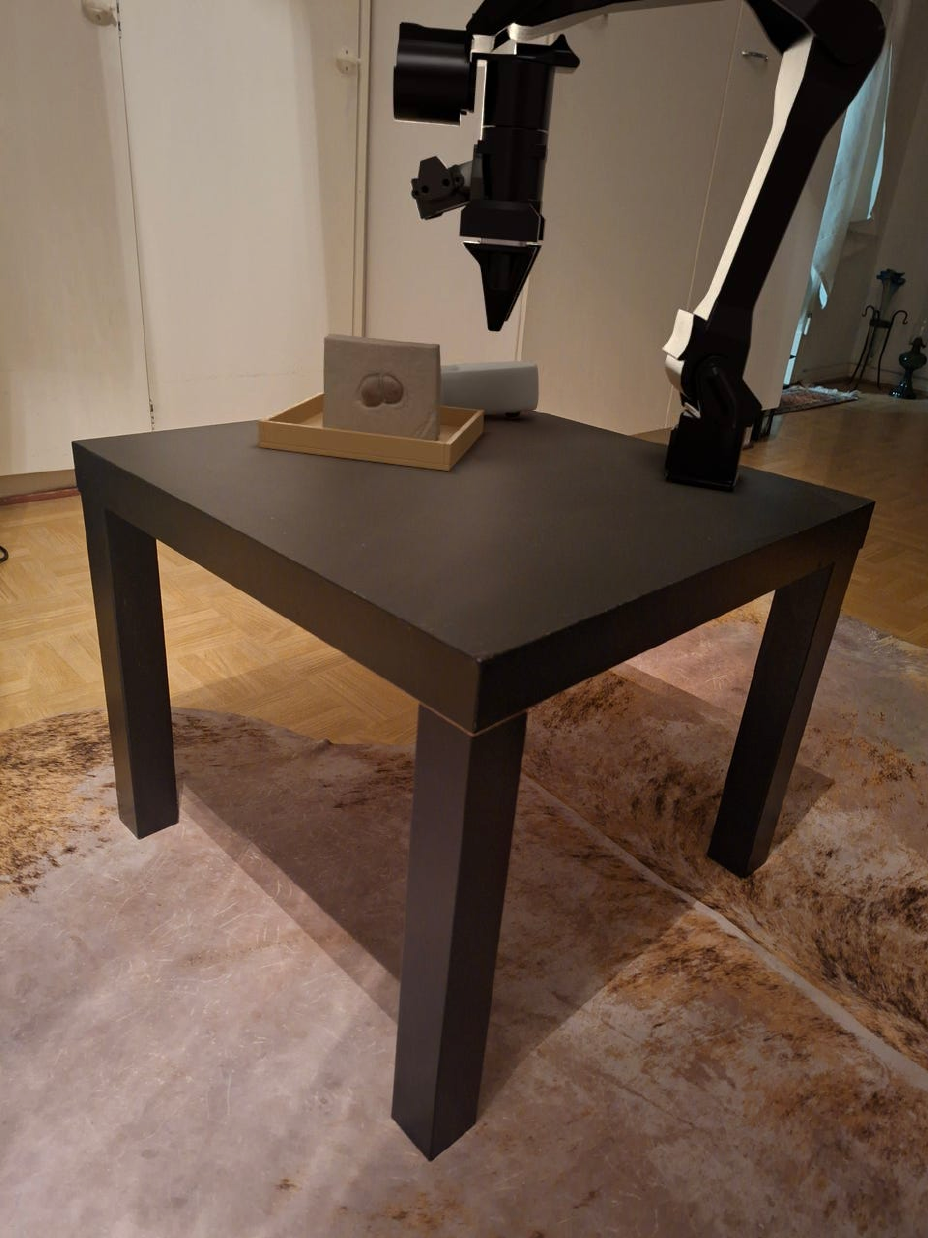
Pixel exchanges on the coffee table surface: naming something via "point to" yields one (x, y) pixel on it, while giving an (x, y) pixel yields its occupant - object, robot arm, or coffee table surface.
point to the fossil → (382, 386)
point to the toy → (491, 386)
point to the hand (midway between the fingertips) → (498, 325)
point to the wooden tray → (370, 437)
